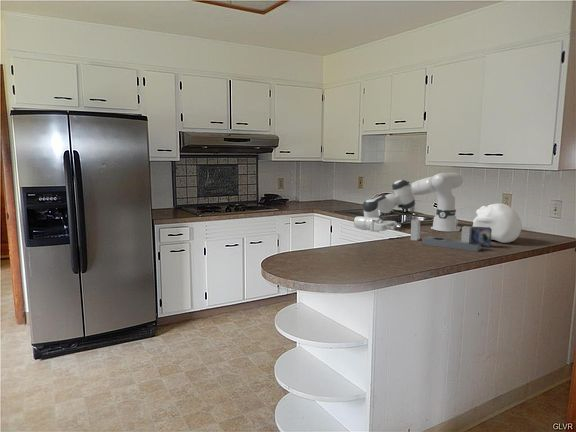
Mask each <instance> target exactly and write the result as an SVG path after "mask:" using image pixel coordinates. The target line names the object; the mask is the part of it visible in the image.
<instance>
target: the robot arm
mask: <svg viewBox="0 0 576 432" xmlns="http://www.w3.org/2000/svg"><path fill="white" fill-rule="evenodd" d="M463 183H464V178H463V176H462V175H461V174H460V173H457V172H454V171H453V172H439V173H436V174H435V175H433V176H429V177H428V176H427V177H425V178H421V179H418V180H415V181H413V182H412V183H410V181H407V180H405V179H399V180H396V181H395V182H393V183H392V191H393V193H394V194H393V193H388V194H385V195H377V196H374V197H373V198H370V199H366V200H364V202H362V209H363V210H362V211H363V216H355V217H354V219H353V225H354V228H356V229H358V230H361V231H370V232H378V233H379V232H384V231H387V230H388V231H389V230H395V228H401V227H402V225H401V224H400V223H397V221H395V220H383V219H382V218H381V217H380V214H379V213H380V212H381V213H383V214H388V213H391V211H392V210H394V208H395V207H397V208H400V209H401V210H402V209H403V210H410V209H412V208H413V207H415V205H416V203H415V202H416V201H415V199H414V196H422V195H423V196H424V195H427V194H428V195H429V194H433V193H436V197H437V203H436V206H437V208H436V211H435V216H434V217H433V223H432V226H431V227H430V230H431V229H432V230H435V231H438V232H439V231H440V232H460V230H462V227H461V226H459V224H458V223H459V220H458V218H457V216H456V212H457V209H455V207H456V197H455V196H454V195H453V192H452V190H454V189H457V188H459V187H461V186H462V185H463Z"/></svg>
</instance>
